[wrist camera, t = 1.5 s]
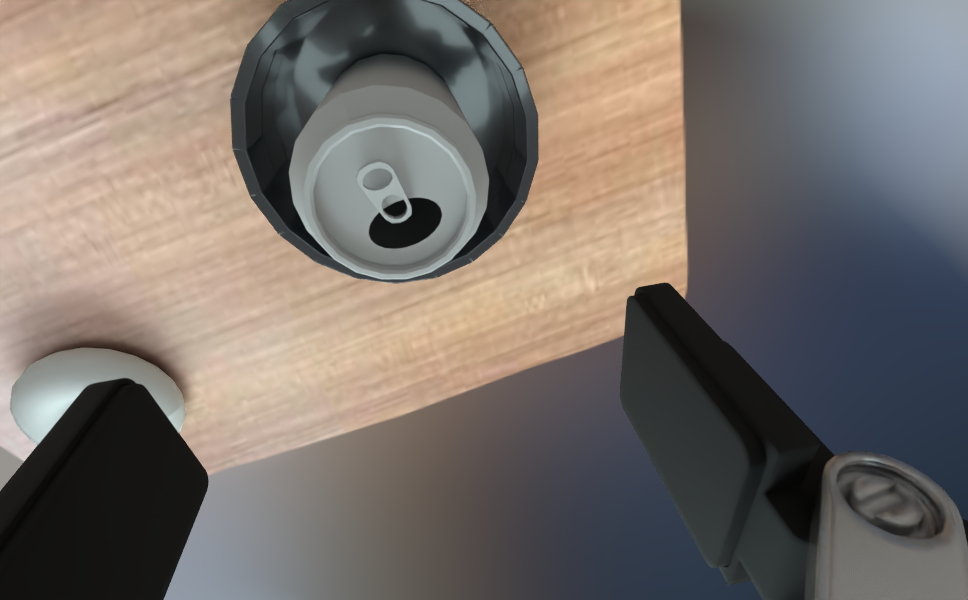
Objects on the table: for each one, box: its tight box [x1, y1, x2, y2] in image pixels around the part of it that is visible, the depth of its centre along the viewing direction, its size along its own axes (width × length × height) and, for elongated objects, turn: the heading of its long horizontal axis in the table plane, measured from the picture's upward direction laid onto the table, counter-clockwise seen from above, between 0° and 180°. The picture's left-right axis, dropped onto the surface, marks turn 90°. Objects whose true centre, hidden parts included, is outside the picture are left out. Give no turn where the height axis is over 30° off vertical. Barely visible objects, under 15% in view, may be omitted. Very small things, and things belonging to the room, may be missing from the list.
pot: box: [230, 0, 538, 283], centre depth 24 cm, size 14×14×6 cm
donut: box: [10, 348, 186, 445], centre depth 32 cm, size 10×4×10 cm
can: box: [289, 54, 489, 279], centre depth 21 cm, size 8×8×12 cm
